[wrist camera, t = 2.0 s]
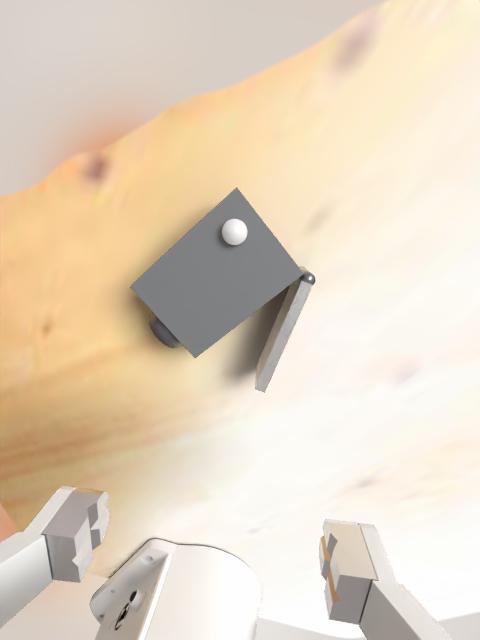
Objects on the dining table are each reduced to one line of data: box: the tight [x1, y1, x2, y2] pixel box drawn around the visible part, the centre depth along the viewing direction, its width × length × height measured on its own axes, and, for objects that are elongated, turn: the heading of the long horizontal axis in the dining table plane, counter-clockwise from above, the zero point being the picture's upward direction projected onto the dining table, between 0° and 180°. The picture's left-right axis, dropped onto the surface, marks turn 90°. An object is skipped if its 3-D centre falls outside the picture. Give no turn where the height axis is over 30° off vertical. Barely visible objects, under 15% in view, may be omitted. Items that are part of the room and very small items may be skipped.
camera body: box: [130, 188, 304, 358], centre depth 22 cm, size 12×7×5 cm, turn 130°
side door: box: [255, 267, 315, 393], centre depth 23 cm, size 10×1×4 cm, turn 160°
